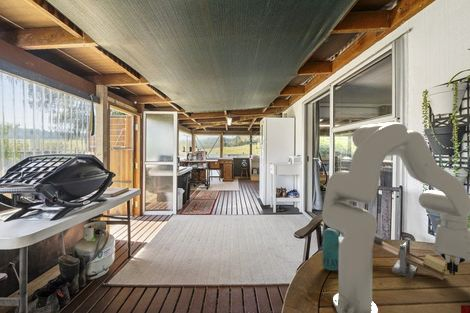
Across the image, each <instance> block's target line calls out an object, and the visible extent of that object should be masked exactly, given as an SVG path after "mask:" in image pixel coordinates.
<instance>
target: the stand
mask: <svg viewBox="0 0 470 313" xmlns="http://www.w3.org/2000/svg"><path fill="white" fill-rule="evenodd" d="M411 240H412V238H409V237H405V238H404V242H403V243H404V244H403V243H402V244H400V245H399V249H400V259H397V261H396V263H395V264H394V266H393V267H392V268H391V273H394V274H396V275H400V276H403V277H407V278H410V279H414V276H415V274H416V273H417V269H418V268H417V267H415V266H413V265H410V264H408V263H406V245H407V244H409V245H408V248H407V252H409V253H411V245H412V244H411V243H412V242H411Z"/></svg>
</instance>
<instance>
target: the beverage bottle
mask: <svg viewBox="0 0 470 313" xmlns="http://www.w3.org/2000/svg"><path fill="white" fill-rule="evenodd" d="M324 226H325V229H324V230H323V231H322V256H321V257H322V259H321V260H322V261H321V265H322V268H324V269H326V270H328V271H337V270H339V237H340V232H339V231H336V230H334V229H332V228H330V227H328V226H327V225H326V224H325V225H324Z"/></svg>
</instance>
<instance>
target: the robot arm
mask: <svg viewBox="0 0 470 313" xmlns="http://www.w3.org/2000/svg"><path fill="white" fill-rule="evenodd" d="M351 139H352V143H353V144H354V146H355V147H356V149H355V151H354V152H353V155H352V157H351V162H350V167H349V170H338V171H335V172H334V173H332V174H331V176H330V177H329V179H328V181H327V182H326V183H327V184H326V188H325V193H324V199H323V206H322V213H321V216H322V217H321V218H322V220H323V222H324V224H325V225H327V226H328V227H330V228H332V229H334V230H336V231H337V232H338V233H341V234H343V237H344V238H343V240H342V242H341V243H340V246H339V266H338V273H337V274H338V276H337V277H338V278H337V279H338V280H337V281H338V282H337V284H338V288H337V291H338V292H337V293H336V294H334V296H333V297H332V304H333V306H334V308H335V310H336V313H378V312H379V310H378V307H377V304H376V303H374V301H373V266H374V265H373V255H374V252H373V251H374V247H373V243H374V238H375V234H376V233H377V229H378V222H377V218H376V216H375V215H374V214H373V213H372V212H370V211H369V210H367V209H365V208H363V207H360V206H356V205H353V204H349V201H351V202H355V203H360V204H371V203H372V202H374V200H375V199H376V197H377V194H378V188H379V183H380V177H381V172H382V167H383V163H384V161H385V159H386V157H387V156H398V157H400V160H401V161H402V163H403V165H404V167H405V169H406V171H407V173H408V174H409V176H410V177H411V178H412V179H414V180H417V181H418V182H420V183H422V184H426V185H427V186H430V187H432V188H434V189H436V190H434V189H433V190H431V189H429V190H425V191H423V192H421V193H420V195H419V196H418V203H419V205H420V206H421V207H422V208H423V209H425V210H427V211H430V212H434V213H439V215H440V216H439V218H435V219H434V220H435V221H434V222H435V223H437V224H438V225H437V226H436V229H435V237H434V238H435V239H434V251H433V253H434V254H436V255H437V256H440V257H442V259H444V260H445V262H446V270H447V271H448V274H450V275H451V274H452V275H453V276H455V275H456V273H458V272H459V265H460V264H461V263H463V262H469V263H470V229H468V217H469V216H468V215H469V214H470V195H469V193H468V190H467V188H466V187H465V185H464V184H463V183H462V182H461V180H459V179H458V178H457V177H456V176H454V175H452V174H451V173H450V172H448V171H447V170H445V169H443V168H441V166H439V165H438V164H437V160H436V159H435V157H434V155H433V153H432V151H431V150H430V147H429V145H428V143H427V141H426V138H424V136H423V135H422V134H421V133H420V132H417V131H414V130H409V129H408V128H407V126H406V125H405V124H403V123H401V122H386V123H385V122H384V123H383V122H382V123H378V124H377V123H375V124H368V125H363V126H359V127H357V128H356V129H355V130H354V132H353V134H352V138H351ZM330 228H329V229H330ZM451 256H452V257H454V260H453V259H451Z"/></svg>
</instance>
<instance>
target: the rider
mask: <svg viewBox="0 0 470 313" xmlns="http://www.w3.org/2000/svg"><path fill="white" fill-rule="evenodd" d="M423 259H424V261H423V264H422V265H424V266H426V267H428V268H430V269H432V270H435V271H437V272H439V273H441V274H442V272H443V269H445V266H446V264H447V262H446V261H443V260H441V259H440V258H437V257H434V256H432V255H430V254H428V253H426V255H425V257H424V258H423Z"/></svg>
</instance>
